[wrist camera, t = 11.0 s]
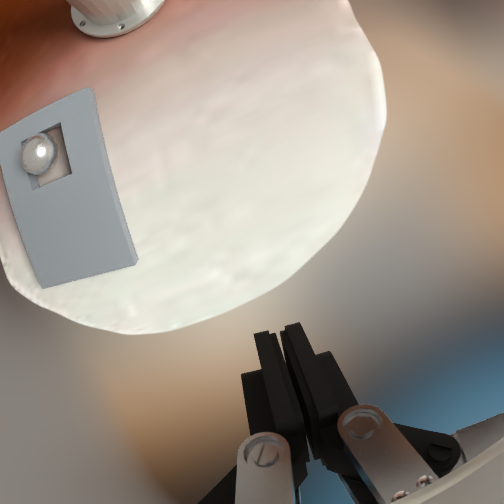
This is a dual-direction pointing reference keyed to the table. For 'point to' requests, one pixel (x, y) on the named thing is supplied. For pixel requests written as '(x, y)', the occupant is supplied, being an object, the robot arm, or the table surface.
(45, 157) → the steel ball
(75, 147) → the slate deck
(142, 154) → the table surface
